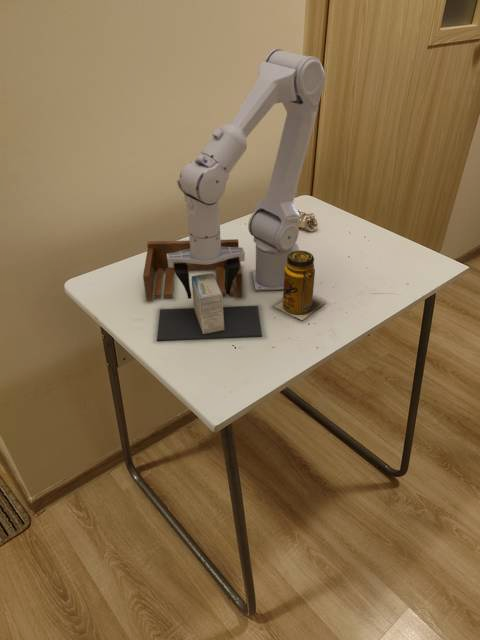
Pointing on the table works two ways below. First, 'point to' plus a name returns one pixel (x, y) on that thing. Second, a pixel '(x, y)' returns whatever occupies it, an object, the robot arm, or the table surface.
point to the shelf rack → (159, 263)
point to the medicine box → (208, 303)
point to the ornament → (307, 221)
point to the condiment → (299, 286)
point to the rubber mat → (188, 328)
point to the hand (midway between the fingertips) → (208, 293)
